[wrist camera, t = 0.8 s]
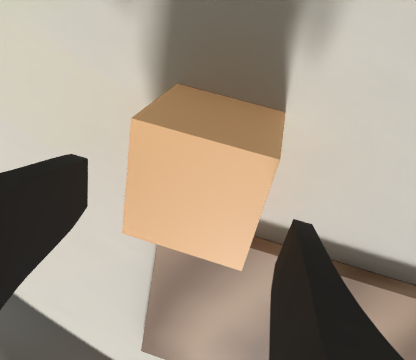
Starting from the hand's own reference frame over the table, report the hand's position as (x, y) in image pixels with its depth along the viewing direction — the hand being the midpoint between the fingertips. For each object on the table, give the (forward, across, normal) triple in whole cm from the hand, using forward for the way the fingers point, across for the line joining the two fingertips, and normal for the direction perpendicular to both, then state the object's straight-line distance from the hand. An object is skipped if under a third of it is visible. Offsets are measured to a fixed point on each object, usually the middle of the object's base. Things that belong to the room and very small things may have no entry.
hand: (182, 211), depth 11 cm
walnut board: (+6, -7, +10) cm, 14 cm away
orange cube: (+6, 0, 0) cm, 6 cm away
